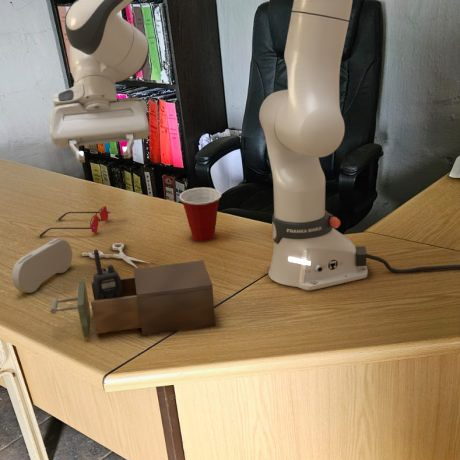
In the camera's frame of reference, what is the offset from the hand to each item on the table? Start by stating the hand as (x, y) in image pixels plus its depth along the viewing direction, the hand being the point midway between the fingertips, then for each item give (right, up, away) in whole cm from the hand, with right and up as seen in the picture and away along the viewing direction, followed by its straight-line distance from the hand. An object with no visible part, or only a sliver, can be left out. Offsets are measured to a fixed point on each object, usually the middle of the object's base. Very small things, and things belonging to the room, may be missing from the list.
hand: (104, 159), depth 132 cm
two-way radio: (+2, -33, -2) cm, 33 cm away
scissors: (-1, -16, +29) cm, 34 cm away
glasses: (-18, -5, +51) cm, 54 cm away
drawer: (0, -34, -2) cm, 34 cm away
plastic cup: (+19, -10, +39) cm, 44 cm away
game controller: (-18, -23, +20) cm, 35 cm away
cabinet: (+15, -32, +1) cm, 36 cm away
